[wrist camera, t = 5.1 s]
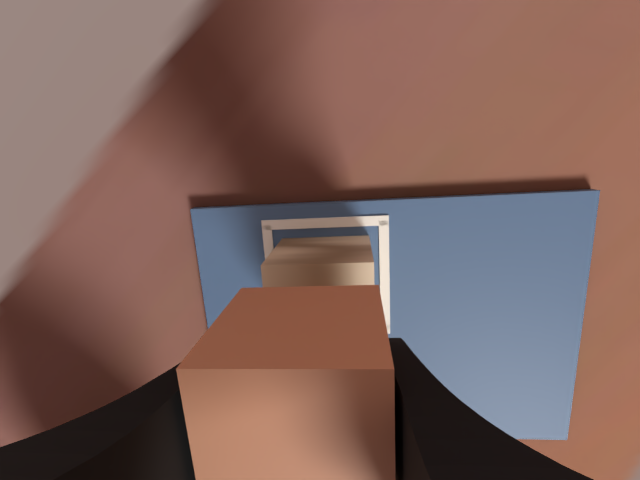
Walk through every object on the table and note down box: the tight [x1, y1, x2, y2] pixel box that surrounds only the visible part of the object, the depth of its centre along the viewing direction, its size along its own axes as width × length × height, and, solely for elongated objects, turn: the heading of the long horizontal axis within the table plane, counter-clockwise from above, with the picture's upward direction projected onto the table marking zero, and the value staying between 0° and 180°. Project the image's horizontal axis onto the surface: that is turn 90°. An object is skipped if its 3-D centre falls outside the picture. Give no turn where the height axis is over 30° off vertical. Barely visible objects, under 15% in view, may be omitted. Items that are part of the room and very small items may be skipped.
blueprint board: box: [190, 189, 600, 440], centre depth 19 cm, size 20×14×1 cm
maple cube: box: [261, 235, 375, 287], centre depth 17 cm, size 4×4×4 cm
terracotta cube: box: [176, 285, 395, 480], centre depth 10 cm, size 4×4×4 cm
